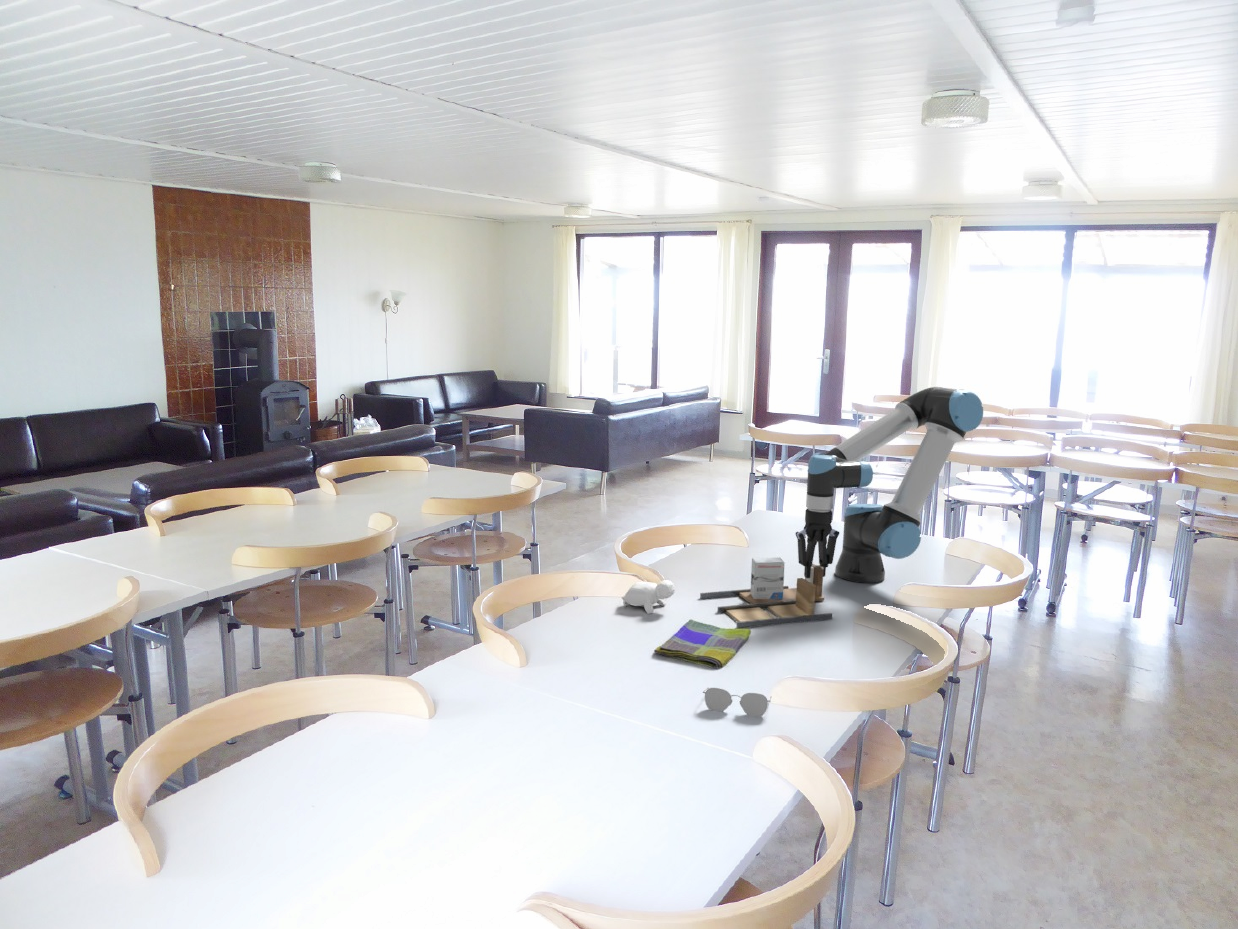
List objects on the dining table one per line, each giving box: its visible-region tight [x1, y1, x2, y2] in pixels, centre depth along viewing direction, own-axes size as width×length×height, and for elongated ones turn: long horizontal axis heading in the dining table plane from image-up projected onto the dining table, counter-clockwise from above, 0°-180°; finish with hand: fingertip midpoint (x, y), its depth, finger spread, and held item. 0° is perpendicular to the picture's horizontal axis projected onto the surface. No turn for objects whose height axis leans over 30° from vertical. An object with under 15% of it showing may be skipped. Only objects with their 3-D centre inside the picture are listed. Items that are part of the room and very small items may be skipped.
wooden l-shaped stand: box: [725, 577, 816, 623], centre depth 229 cm, size 22×10×9 cm, turn 108°
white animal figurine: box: [621, 579, 676, 615], centre depth 233 cm, size 9×8×15 cm
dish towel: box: [653, 618, 752, 669], centre depth 208 cm, size 18×24×3 cm
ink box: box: [750, 557, 785, 599], centre depth 241 cm, size 8×5×12 cm, turn 94°
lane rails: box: [699, 585, 833, 629], centre depth 235 cm, size 28×25×2 cm
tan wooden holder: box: [739, 562, 825, 604], centre depth 243 cm, size 22×10×9 cm, turn 108°
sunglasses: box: [702, 687, 772, 718], centre depth 176 cm, size 14×8×5 cm, turn 75°
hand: (813, 587), depth 246 cm, fingers open, 2 cm apart
